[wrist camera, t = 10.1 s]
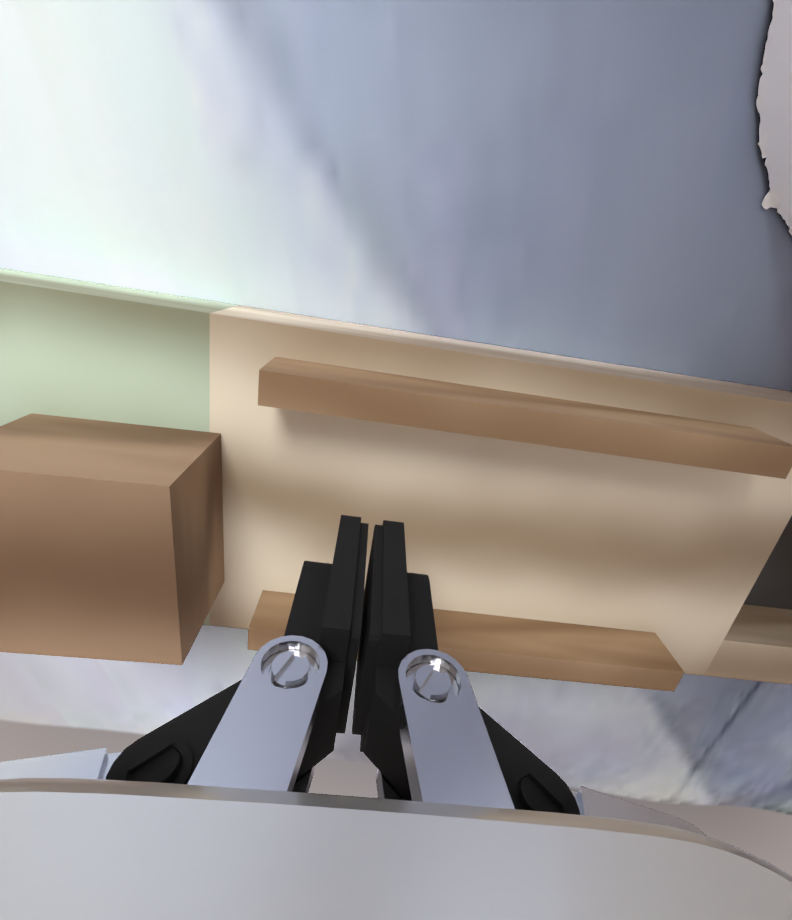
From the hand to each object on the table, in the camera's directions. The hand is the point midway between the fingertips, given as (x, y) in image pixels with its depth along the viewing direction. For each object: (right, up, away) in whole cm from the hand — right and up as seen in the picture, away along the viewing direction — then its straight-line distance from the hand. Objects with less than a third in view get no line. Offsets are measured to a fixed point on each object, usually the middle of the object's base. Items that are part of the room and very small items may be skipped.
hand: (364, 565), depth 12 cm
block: (-8, +1, +4) cm, 9 cm away
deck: (+6, +1, +8) cm, 10 cm away
